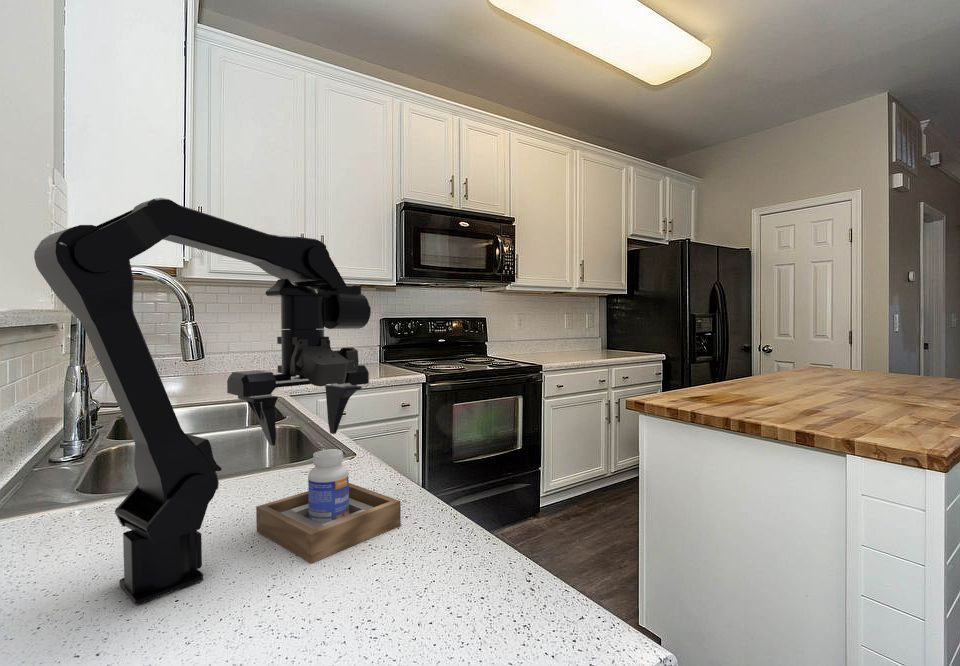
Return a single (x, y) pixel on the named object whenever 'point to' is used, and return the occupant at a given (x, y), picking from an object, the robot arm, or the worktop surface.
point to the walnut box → (318, 541)
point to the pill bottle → (328, 487)
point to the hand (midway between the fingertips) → (304, 439)
